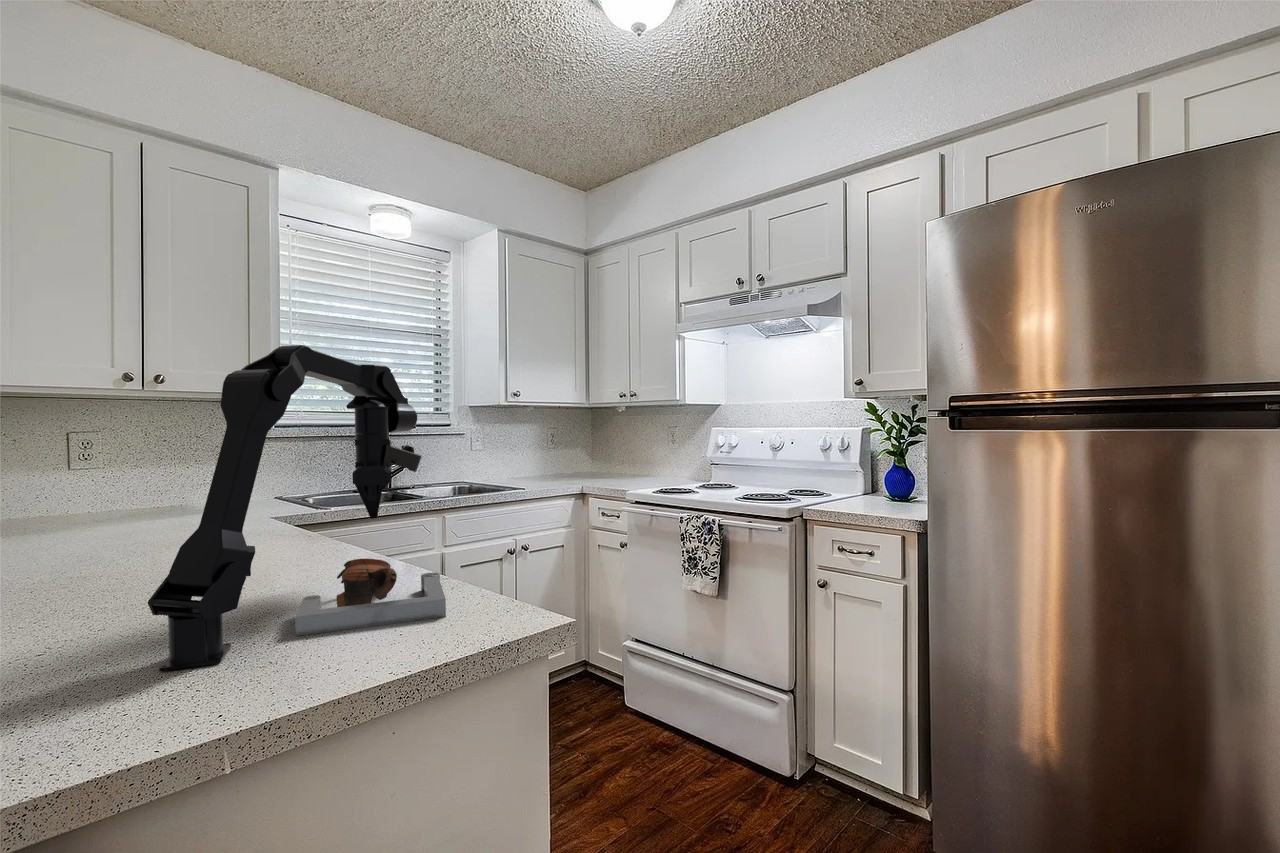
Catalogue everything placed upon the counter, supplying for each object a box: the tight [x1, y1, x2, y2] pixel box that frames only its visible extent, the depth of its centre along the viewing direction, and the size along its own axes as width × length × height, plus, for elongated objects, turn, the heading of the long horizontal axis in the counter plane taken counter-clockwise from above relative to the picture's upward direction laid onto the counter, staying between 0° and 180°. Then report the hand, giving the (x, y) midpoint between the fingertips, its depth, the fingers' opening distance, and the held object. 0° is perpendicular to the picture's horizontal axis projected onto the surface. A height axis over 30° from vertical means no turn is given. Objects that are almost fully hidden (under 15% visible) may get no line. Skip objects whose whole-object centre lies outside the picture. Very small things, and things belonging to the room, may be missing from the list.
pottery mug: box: [336, 558, 398, 607], centre depth 106 cm, size 12×10×8 cm
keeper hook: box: [294, 572, 447, 637], centre depth 101 cm, size 18×21×3 cm
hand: (374, 517), depth 115 cm, fingers closed
